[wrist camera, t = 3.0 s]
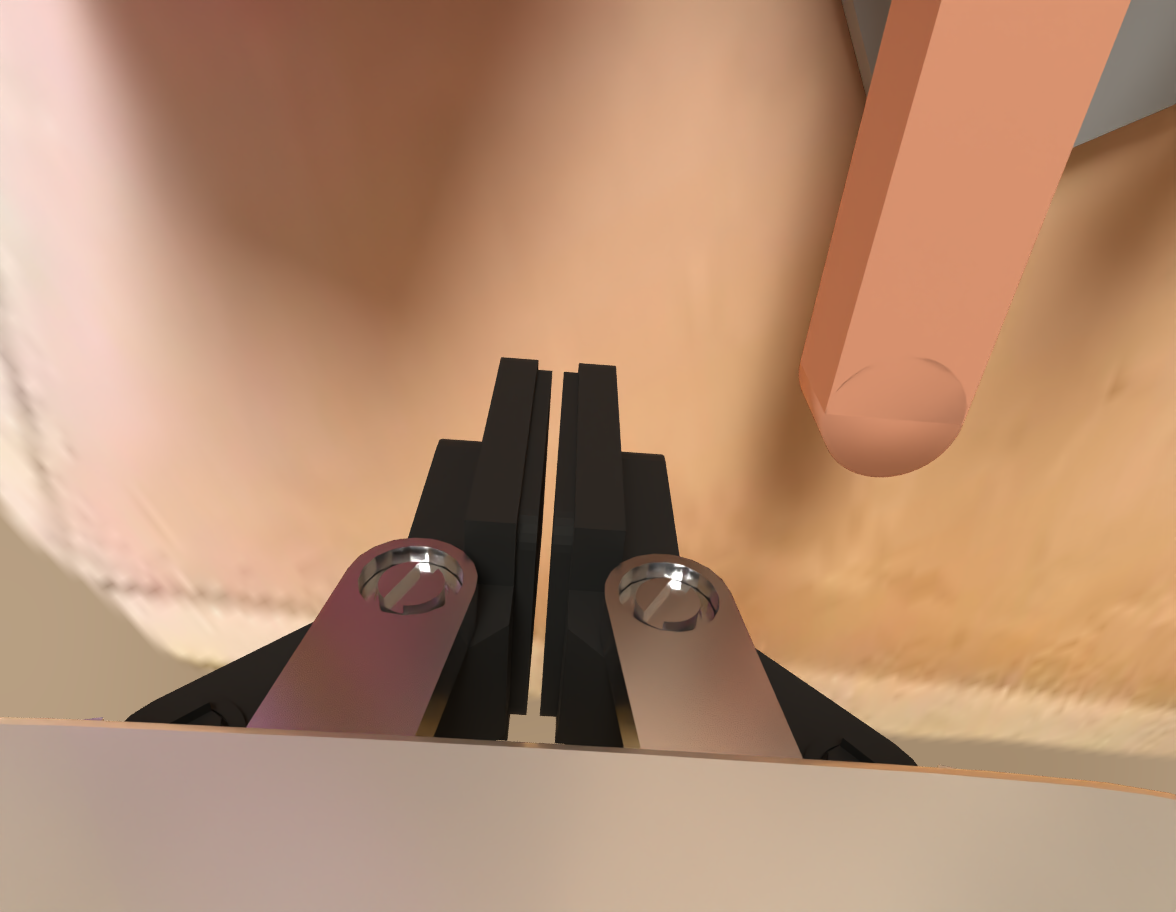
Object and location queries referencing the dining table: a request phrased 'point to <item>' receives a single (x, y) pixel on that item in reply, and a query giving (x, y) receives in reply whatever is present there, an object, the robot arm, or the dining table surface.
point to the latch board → (1128, 82)
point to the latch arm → (943, 215)
